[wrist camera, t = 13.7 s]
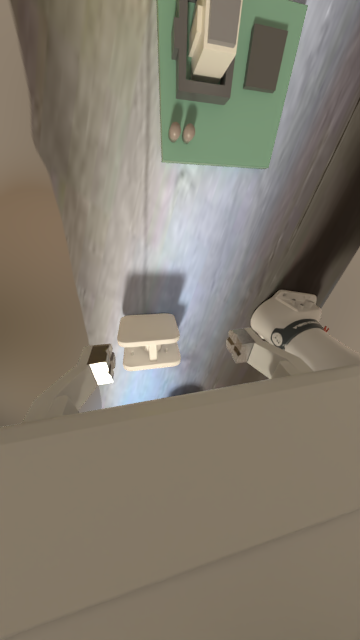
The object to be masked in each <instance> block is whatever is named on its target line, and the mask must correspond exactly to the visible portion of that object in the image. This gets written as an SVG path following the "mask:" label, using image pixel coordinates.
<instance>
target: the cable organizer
mask: <svg viewBox="0 0 360 640" xmlns="http://www.w3.org/2000/svg"><path fill="white" fill-rule="evenodd" d="M179 336H180V334H179V330H178V327H177V324H176V320H175V317H174V315H172V314H169V313H161V314H143V315H128V316H124V317H122V318H121V320H120V325H119V331H118V337H117V340H118V344H119V345H120V346H121V347H125V348H124V358H123V366H124V369H126V370H128V371H137V370H146V369H154V368H163V367H172V366H176V365H178V364H179V363H180V360H181V355H180V352H179V348H178V344H177V341H178V340H179Z"/></svg>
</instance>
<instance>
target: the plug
mask: <svg viewBox="0 0 360 640" xmlns="http://www.w3.org/2000/svg"><path fill="white" fill-rule="evenodd" d="M242 2H243V0H197V1H196V5H195V9H194V12H193V24H192V27H191V31H190V34H189V57H191V80H192V81H198V82H205V83H211V84H218V82H219V81H220V79H221V77H222V76H223V74H224V73H225V71H226V70H227V68H228V67H229V65H230V63H231V62H232V60H233V59H234V57H235V56H236V51H237V43H238V34H239V26H240V18H241V10H242Z"/></svg>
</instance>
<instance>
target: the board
mask: <svg viewBox="0 0 360 640" xmlns="http://www.w3.org/2000/svg"><path fill="white" fill-rule="evenodd" d="M156 1H157V31H158V62H159V93H160V124H161V155H162V162H166V163H181V164H196V165H211V166H226V167H241V168H256V169H266V168H268V167H269V163H270V159H271V155H272V151H273V147H274V143H275V139H276V134H277V130H278V126H279V122H280V118H281V114H282V110H283V106H284V101H285V97H286V93H287V89H288V85H289V81H290V77H291V73H292V68H293V64H294V60H295V56H296V52H297V48H298V44H299V40H300V35H301V31H302V27H303V23H304V19H305V15H306V11H307V7H308V5H304V4H300V3H297V2H293V1H289V0H243V2H242V10H241V18H240V26H239V34H238V43H237V51H236V56H235V57H234V59H233V60H232V62H231V63H230V65H229V67H228V68H227V70H226V71H225V73H224V74H223V76H222V77H221V79H220V81H219V82H218V84H211V83H205V82H198V81H192V80H191V57H189V34H190V31H191V27H192V24H193V12H194V9H195V5H196V1H197V0H156Z"/></svg>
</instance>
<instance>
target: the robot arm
mask: <svg viewBox="0 0 360 640" xmlns="http://www.w3.org/2000/svg"><path fill="white" fill-rule="evenodd" d="M315 304H316V296H315V295H314V294H308V293H301V292H294V291H287V290H279V291H277V292H276V293H275V294H274V295H273V296H272V297H271V298H270V299H268V300H267V301H265V302H264V303H262V304H261V305H260V306H259V307H258V308H257V309H256V311H255V312H254V314H253V316H252V318H251V327H252V329H253V330H254V331H256V332H257V333H258V334H259V336H260V337H261V338H263V339H266V340H267V341H268V342H269V343H270V344H269V343H267V342H263V341H262V340H261V339H260V338H259V336H258V335H257V334H256V333H255V332H254V331H253V330H252V329H251V328H243V329H234V330H230V331H229V333H228V335H229V337H228V338H227V341H226V345H227V349H228V351H229V352H231V353H232V357H233V359H234V360H235V362H236V363H241V362H247V363H249V364H250V365H252V366H253V367H254V368H256V369H257V370H258V371H260V372H261V373H263V374H264V375H265V376H267V377H268V378H269V379H268V380H263V381H257V382H252V383H246V384H240V385H235V386H229V387H223V388H218V389H212V390H207V391H201V392H195V393H190V394H184V395H178V396H173V397H167V398H161V399H156V400H150V401H144V402H139V403H133V404H127V405H122V406H116V407H111V408H105V409H99V410H94V411H88V412H82V413H79V409H80V408H81V407H82V406H83V404H84V403H85V402H86V400H87V399H88V398H89V397H90V395H91V394H92V393H93V391H94V390H95V389H96V388H97V386H98V385H99V384H104V383H110V382H113V376H114V371H113V369H114V368H115V355H114V353H113V352H112V349H113V348H112V345H111V344H102V345H94V346H85V347H84V348H83V351H82V353H81V356H80V359H79V361H78V363H77V366H76V367H73V368H72V369H71V370H70V371H68V372H67V373H66V374H65V375H63V376H62V377H61V378H60V379H59V380H57V381H56V382H55V383H54V384H52V385H51V386H50V387H49V388H48V389H46V390H45V391H44V392H43V393H42V394H40V395H39V396H38V397H37V398H36V399H35V400H34V401H33V403H32V405H31V407H30V409H29V411H28V413H27V414H26V416H25V418H24V420H23V422H22V423H21V424H15V425H9V426H4V427H0V640H360V354H359V353H357V352H356V351H354V350H352V349H350V348H349V347H347V346H346V345H344V344H342V343H341V342H340V341H338V340H337V339H335V338H334V337H332V336H331V335H329V334H328V333H327V331H328V330H329V328H328V329H327V330H326V326H325V328H324V329H323V327H322V326H321V325H320V324H319V320H320V317H321V309H320V308H319V307H318V306H316V305H315ZM325 330H326V331H325Z"/></svg>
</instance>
